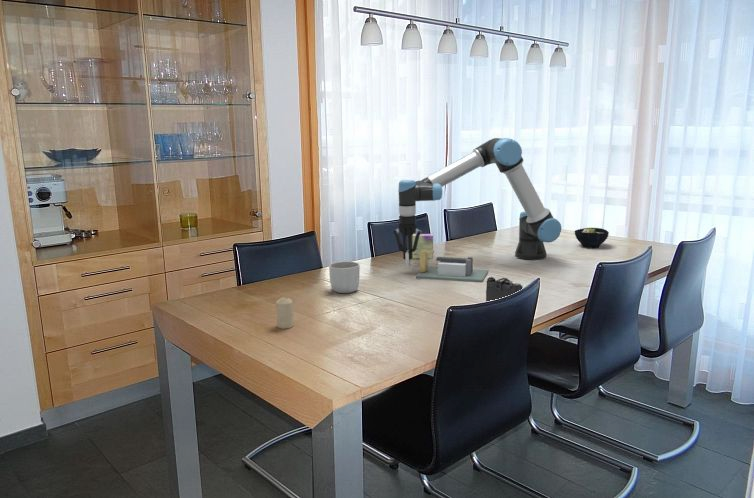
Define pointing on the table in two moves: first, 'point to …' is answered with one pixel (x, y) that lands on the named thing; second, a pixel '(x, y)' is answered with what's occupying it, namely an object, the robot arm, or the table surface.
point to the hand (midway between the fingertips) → (407, 266)
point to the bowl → (591, 237)
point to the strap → (452, 259)
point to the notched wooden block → (424, 259)
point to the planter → (344, 276)
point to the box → (423, 245)
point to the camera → (500, 288)
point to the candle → (284, 313)
